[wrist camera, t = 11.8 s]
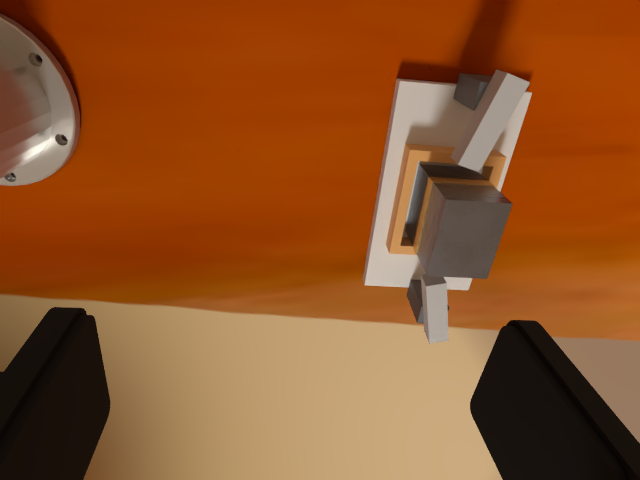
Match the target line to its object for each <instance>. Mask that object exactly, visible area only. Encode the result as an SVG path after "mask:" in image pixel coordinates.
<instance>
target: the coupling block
mask: <svg viewBox="0 0 640 480" xmlns="http://www.w3.org/2000/svg"><path fill="white" fill-rule="evenodd" d="M511 207H512V203H511V202H510V201H509V200H508V199H507V198H506V197H505V196H504V195H503V194H502V193H501V192H499V191H498V190H497V189H496V188H495V185H493V184H492V183H491V182H490V181H488V180H487V179H485V178H484V177H483V176H482V175H481V174H480V173H479V172H477V171H474V170H471V169H468V168H466V167H459V166H444V165H429V164H419V166H418V171H417V176H416V181H415V185H414V190H413V195H412V200H411V205H410V210H409V214H408V219H407V224H406V229H405V231H406V233H407V235H408V237H409V239H410V242H411V244H412V246H413V250H414V252H415V254H416V255H417V256H418V258H419V261H420V263H421V265H422V267H423V269H424V271H425V273H426V275H427V276H435V277H458V278H480V279H487V278H488V275H489V272H490V269H491V266H492V263H493V260H494V257H495V254H496V251H497V248H498V245H499V242H500V239H501V236H502V233H503V230H504V227H505V224H506V221H507V219H508V216H509V213H510V210H511Z"/></svg>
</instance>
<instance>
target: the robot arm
mask: <svg viewBox="0 0 640 480" xmlns="http://www.w3.org/2000/svg"><path fill="white" fill-rule="evenodd" d="M39 55H40V57H41V58H42V61H41V60H40V59H39ZM79 133H80V112H79V107H78V102H77V98H76V95H75V93H74V90H73V87H72V85H71V82H70V80H69V78H68V77H67V75H66V73H65V72H64V70H63V68H62V66H61V65H60V63H59V62H58V61H57V59H56V58H55V57H54V56H53V54H52V53H51V52H50V51H49V49H48V48H47V47H46V46H45V45H44V44H43V43H42V42H41V41H40V40H39V39H38V38H36V37H35V36H34V35H33V34H32V33H31V32H30V31H28V30H27V29H26V28H24V27H23V26H21V25H20V24H19V23H17V22H16V21H14V20H13V19H11V18H9V17H7V16H5V15H3V14H1V13H0V185H6V186H16V185H27V184H31V183H34V182H38V181H41V180H42V179H44V178H46V177H48V176H50V175H52V174H53V173H55V172H56V171H57V170H59V169H60V168H61V167H63V165H64V164H65V163H66V162H67V161H68V160H69V158H70V157H71V156H72V154H73V152H74V150H75V148H76V146H77V142H78V138H79ZM64 136H66V138H67V139H66V138H65V137H64ZM470 410H471V414H472V417H473V419H474V421H475V423H476V425H477V427H478V429H479V431H480V433H481V435H482V437H483V439H484V442H485V444H486V446H487V448H488V450H489V452H490V454H491V456H492V458H493V460H494V462H495V464H496V466H497V469H498V471H499V473H500V475H501V477H502V479H503V480H640V443H639V442H638V441H637V440H636V439H635V438H634V436H633V435H632V434H631V433H630V431H629V430H628V429H627V428H626V427H625V425H624V424H623V423H622V422H621V421H620V420H619V418H618V417H617V416H616V415H615V414H614V412H613V411H612V410H611V409H610V407H609V406H608V405H607V404H606V403H605V401H604V400H603V399H602V398H601V397H600V395H599V394H598V393H597V392H596V391H595V389H594V388H593V387H592V386H591V385H590V383H589V382H588V381H587V380H586V379H585V377H584V376H583V375H582V374H581V373H580V371H579V370H578V369H577V368H576V367H575V365H574V364H573V363H572V362H571V361H570V359H569V358H568V357H567V356H566V355H565V353H564V352H563V351H562V350H561V349H560V347H559V346H558V345H557V344H556V343H555V341H554V340H553V339H552V338H551V337H550V335H549V334H548V333H547V332H546V331H545V329H544V328H543V327H542V326H541V325H540V324H539V323H538V322H536V321H527V320H511V321H510V322H508V324H507V325H506V326H503V327H502V328H501V330H500V332H499V335H498V337H497V339H496V342H495V344H494V347H493V349H492V351H491V354H490V356H489V358H488V361H487V363H486V365H485V368H484V370H483V372H482V375H481V377H480V380H479V382H478V384H477V387H476V389H475V392H474V394H473V396H472V399H471V402H470ZM109 411H110V397H109V393H108V387H107V382H106V376H105V370H104V365H103V360H102V354H101V349H100V344H99V338H98V333H97V327H96V322H95V318H94V316H92V315H87V314H86V311H85V310H84V309H83V308H60V307H54V308H51V309H50V310H49V311H48V312H47V314H46V315H45V316H44V318H43V319H42V320H41V322H40V323H39V324H38V326H37V327H36V328H35V330H34V331H33V333H32V334H31V335H30V337H29V338H28V339H27V341H26V342H25V344H24V345H23V346H22V348H21V349H20V350H19V352H18V353H17V354H16V356H15V357H14V359H13V360H12V361H11V363H10V364H9V365H8V367H7V368H6V370H5V371H4V372H0V480H83V479H84V476H85V474H86V471H87V469H88V466H89V464H90V461H91V458H92V456H93V454H94V451H95V449H96V446H97V444H98V441H99V439H100V436H101V434H102V431H103V429H104V426H105V424H106V421H107V418H108V415H109Z"/></svg>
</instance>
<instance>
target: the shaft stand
mask: <svg viewBox="0 0 640 480" xmlns="http://www.w3.org/2000/svg"><path fill="white" fill-rule="evenodd" d="M529 84H530V82H528V81H525V80H523V79H521V78H518V77H516V76H514V75H511V74H509V73H506V72H503V71H500V70H497V69H496V71H495V73H494V75H493V76H488V75H478V74H467V73H459V77H458V81H457V84H453V83H442V82H431V81H420V80H409V79H398V78H396V84H395V90H394V96H393V102H392V108H391V114H390V120H389V126H388V131H387V137H386V143H385V149H384V155H383V161H382V167H381V173H380V179H379V185H378V191H377V197H376V202H375V208H374V214H373V220H372V226H371V232H370V238H369V244H368V250H367V256H366V262H365V268H364V274H363V281H364V285H370V286H391V287H409V288H408V292H407V297H408V300H409V302H410V305H411V308H412V310H413V313H414V316H415V318H416V321H417V323H424V331H425V333H426V336H427V339H428V341H429V343H435V342H442V341H447V340H448V310H449V306H448V304H447V289H454V290H469V287H470V284H471V281H472V278H458V277H435V276H427V275H426V273H425V271H424V269H423V267H422V265H421V263H420V261H419V258H418V256H417V255H416V254H415V252H414V250H413V246H412V244H411V242H410V239H409V237H408V235H407V233H406V231H405V229H406V224H407V219H408V214H409V210H410V205H411V200H412V195H413V190H414V185H415V181H416V176H417V171H418V166H419V164H429V165H444V166H459V167H466V168H468V169H471V170H474V171H477V172H479V173H480V174H481V175H482V176H483V177H484V178H485V179H487V180H488V181H490V182H491V183H492V184H493V185H495V188H496V189H497V190H498V191H499V192H500V191H501V188H502V185H503V182H504V179H505V175H506V172H507V169H508V166H509V163H510V160H511V157H512V154H513V151H514V148H515V145H516V141H517V138H518V135H519V132H520V129H521V126H522V123H523V120H524V117H525V114H526V111H527V107H528V104H529V101H530V98H531V95H532V93H531V92H529V91H526V89H527V87H528V86H529Z"/></svg>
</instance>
